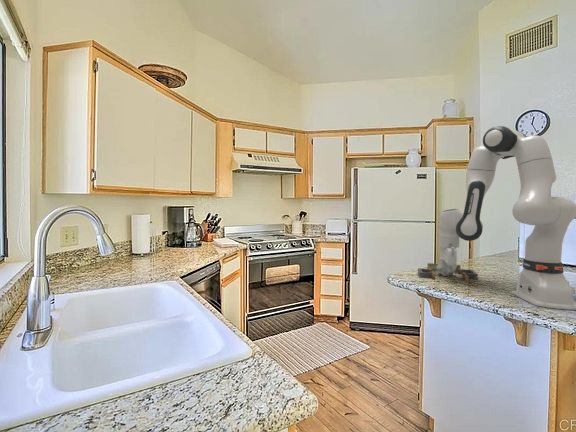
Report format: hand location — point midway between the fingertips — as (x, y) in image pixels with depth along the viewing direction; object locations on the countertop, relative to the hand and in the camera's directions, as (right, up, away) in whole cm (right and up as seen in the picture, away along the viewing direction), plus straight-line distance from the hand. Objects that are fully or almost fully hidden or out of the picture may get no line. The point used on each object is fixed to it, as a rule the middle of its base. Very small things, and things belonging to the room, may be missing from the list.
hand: (447, 271), depth 152 cm
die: (+2, -3, +5) cm, 6 cm away
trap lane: (+1, -3, +3) cm, 4 cm away
